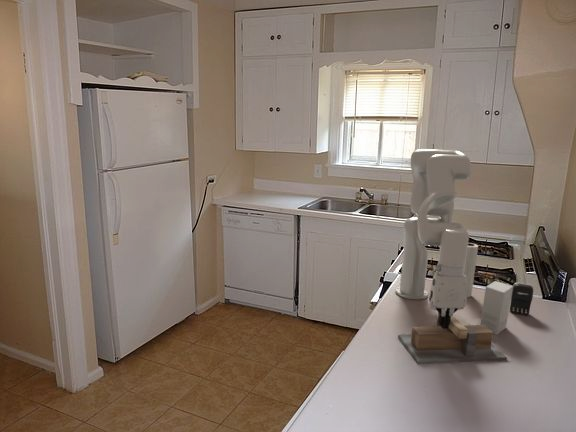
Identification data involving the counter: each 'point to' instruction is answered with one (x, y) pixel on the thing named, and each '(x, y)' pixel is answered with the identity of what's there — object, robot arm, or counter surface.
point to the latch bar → (457, 328)
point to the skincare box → (496, 306)
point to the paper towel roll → (470, 266)
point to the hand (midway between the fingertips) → (443, 326)
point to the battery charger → (521, 298)
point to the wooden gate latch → (451, 345)
